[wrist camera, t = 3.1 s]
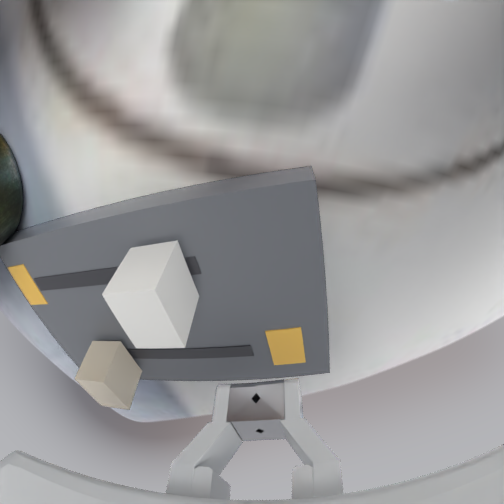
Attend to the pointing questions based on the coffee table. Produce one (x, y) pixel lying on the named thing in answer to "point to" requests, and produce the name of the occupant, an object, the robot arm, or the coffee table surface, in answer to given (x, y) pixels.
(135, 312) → the off white slider
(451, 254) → the coffee table surface
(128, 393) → the sand slider
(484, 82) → the coffee table surface
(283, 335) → the switch panel
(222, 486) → the robot arm
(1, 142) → the mug
